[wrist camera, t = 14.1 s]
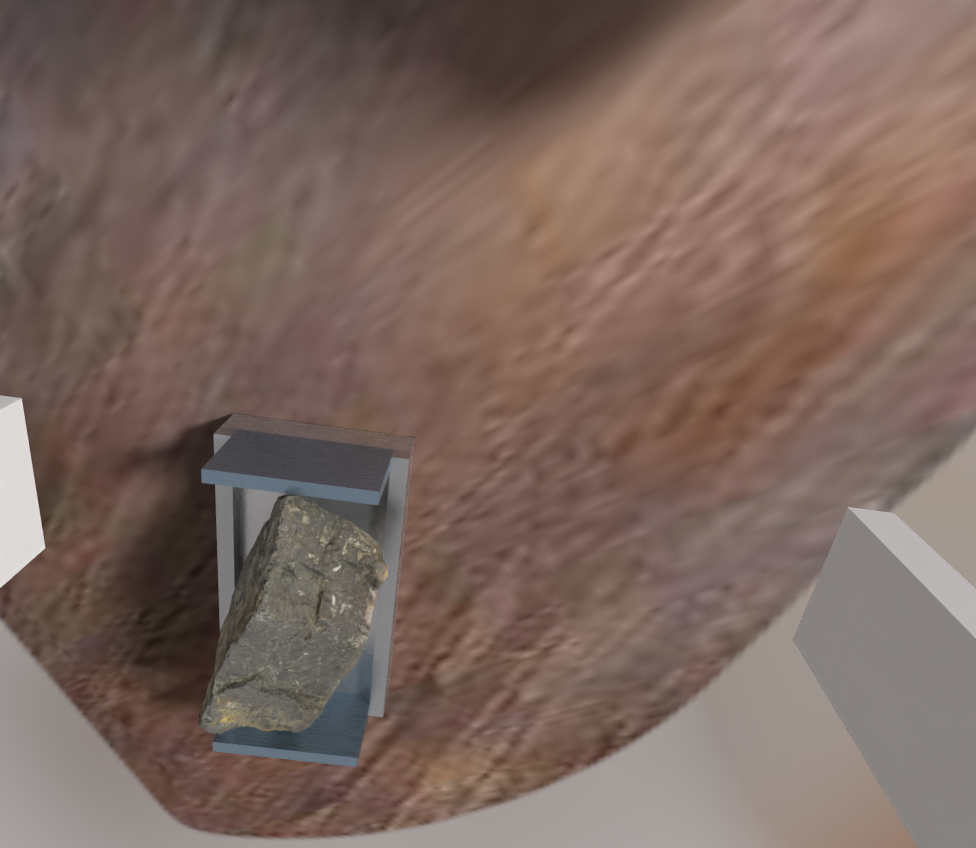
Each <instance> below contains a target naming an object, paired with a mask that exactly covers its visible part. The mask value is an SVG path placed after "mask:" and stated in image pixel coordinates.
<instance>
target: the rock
mask: <svg viewBox="0 0 976 848" xmlns="http://www.w3.org/2000/svg"><path fill="white" fill-rule="evenodd" d="M387 575H388V567H387V564H386V563H385V561H384V557H383V552H382V549H381V546H380V544H379V543H378V542H377V541H375V540H374V539H373V538H372V537H371V536H370V535H369V534H368V533H366V532H365V531H363V530H362V529H361V528H359V527H357V526H356V525H354V524H353V523H352V522H350V521H348V520H345V519H342V517H341V516H339V515H336V514H333V513H331V512H328V511H326V510H324V509H323V508H321V507H319V506H318V505H317V504H316V503H315V502H313V501H310V500H307V499H305V498H302V497H300V496H298V495H293V494H288V495H282V496H279V497H278V498H277V501H276V502H275V504H274V506H273V509H272V513H271V516H270V519H269V520H267V521H266V522H265V524H264V525H263V527H262V529H261V531H260V534H259V535H258V536H257V539H256V541H255V543H254V545H253V547H252V548H251V550H250V552H249V554H248V556H247V558H246V560H245V562H244V564H243V567H242V570H241V573H240V577H239V580H238V582H237V585H236V587H235V590H234V592H233V595H232V599H231V605H230V609H229V613H228V615H227V617H226V618H225V620H224V622H223V625H222V628H221V630H220V636H219V639H218V645H217V648H216V653H215V657H216V661H215V667H214V673H213V676H212V678H211V680H210V682H209V683H208V687H207V692H206V696H205V699H204V701H203V704H202V707H201V710H200V714H199V725H200V726H201V727H202V729H204V730H205V731H206V732H208V733H213V734H215V733H218V734H222V733H224V732H226V731H228V730H231V729H234V728H237V727H245V726H248V727H255V728H257V729H259V730H262V731H264V732H266V731H271V730H277V731H282V730H283V731H292V732H293V733H297V732H300V731H303V730H305V729H307V728H308V727H310V726H311V725H312V723H313V722H314V721H315V720H316V719H317V718H318V717H319V716H320V715H321V713H322V712H323V708H324V706H325V704H326V703H327V701H328V700H329V698H330V697H331V696H332V694H333V693H334V691H335V689H336V688H337V687H338V686H339V685H340V681H341V680H342V679H343V678H344V677H345V675H346V674H347V673H349V672H350V671H351V670H352V669H353V667H354V666H355V664H356V663H357V661H358V660H359V659H360V657H361V656H362V653H363V650H364V648H365V645H366V642H367V639H368V634H369V631H370V629H371V619H372V612H373V609H374V607H375V599H376V595H377V590H378V589H379V588H380V587H381V586H382V585H383V583H384V581H385V579H386V577H387Z"/></svg>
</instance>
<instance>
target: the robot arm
mask: <svg viewBox="0 0 976 848" xmlns="http://www.w3.org/2000/svg"><path fill="white" fill-rule="evenodd" d="M44 549H45V543H44V537H43V531H42V524H41V518H40V512H39V505H38V499H37V493H36V486H35V480H34V474H33V467H32V461H31V455H30V448H29V442H28V436H27V429H26V423H25V417H24V410H23V404H22V398H15V397H7V396H0V588H1V587H2V586H3V585H4V584H5V583H6V582H7V581H8V580H10V579H11V578H12V577H13V576H14V575H15V574H16V573H18V572H19V571H20V570H21V569H22V568H23V567H24V566H25V565H27V564H28V563H29V562H30V561H31V560H32V559H33V558H35V557H36V556H37V555H38V554H39V553H40V552H41V551H42V550H44ZM793 641H794V642H795V644H796V646H797V647H798V649H799V651H800V652H801V654H802V656H803V657H804V659H805V661H806V662H807V664H808V665H809V667H810V669H811V671H812V672H813V674H814V676H815V677H816V679H817V681H818V682H819V684H820V686H821V687H822V689H823V691H824V692H825V694H826V696H827V697H828V699H829V701H830V702H831V704H832V706H833V707H834V709H835V711H836V712H837V714H838V716H839V717H840V719H841V721H842V722H843V724H844V726H845V727H846V729H847V731H848V732H849V734H850V736H851V737H852V739H853V740H854V742H855V744H856V746H857V747H858V749H859V751H860V752H861V754H862V756H863V757H864V759H865V761H866V762H867V764H868V766H869V767H870V769H871V771H872V773H873V774H874V776H875V777H876V779H877V781H878V782H879V784H880V786H881V788H882V789H883V791H884V793H885V794H886V796H887V798H888V799H889V801H890V803H891V804H892V806H893V808H894V809H895V811H896V812H897V814H898V816H899V818H900V819H901V821H902V823H903V824H904V826H905V827H906V829H907V831H908V833H909V834H910V836H911V838H912V839H913V841H914V842H915V844H916V846H917V847H918V848H976V589H975V588H974V587H973V586H972V585H971V584H970V583H969V582H967V581H966V580H965V579H964V578H963V577H962V576H961V575H960V574H959V573H958V572H957V571H956V570H955V569H953V568H952V567H951V566H950V565H949V564H948V563H947V562H946V561H945V560H944V559H943V558H942V557H940V556H939V555H938V554H937V553H936V552H935V551H934V550H933V549H932V548H931V547H930V546H929V545H927V544H926V543H925V542H924V541H923V540H922V539H921V538H920V537H919V536H918V535H917V534H916V533H914V532H913V531H912V530H911V529H910V528H909V527H908V526H907V525H906V524H905V523H904V522H903V521H901V520H900V519H899V518H898V517H897V516H896V515H895V514H894V513H889V512H881V511H874V510H866V509H858V508H851V507H848V508H847V511H846V513H845V516H844V518H843V520H842V523H841V525H840V528H839V530H838V532H837V535H836V537H835V540H834V542H833V544H832V547H831V549H830V552H829V554H828V556H827V559H826V561H825V564H824V566H823V568H822V571H821V573H820V576H819V578H818V580H817V583H816V585H815V588H814V590H813V592H812V595H811V597H810V600H809V602H808V605H807V607H806V609H805V612H804V614H803V617H802V619H801V621H800V624H799V626H798V629H797V631H796V633H795V636H794V639H793Z"/></svg>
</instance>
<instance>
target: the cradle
mask: <svg viewBox="0 0 976 848" xmlns="http://www.w3.org/2000/svg"><path fill="white" fill-rule="evenodd" d="M414 445H415V437H407V436H400V435H392V434H385V433H377V432H370V431H362V430H355V429H347V428H339V427H332V426H324V425H317V424H309V423H302V422H294V421H287V420H279V419H271V418H264V417H256V416H249V415H241V414H233V415H232V416H231V417H230V418H229V419H228V420H227V421H226V422H225V423H224V424H223V425H222V426H221V427H220V428H219V429H218V430H217V431H216V432H215V433H214V456H213V457H212V458H211V459H210V460H209V461H208V462H207V463H206V464H205V465H204V466H203V467H202V469H201V475H202V483H208V484H215V496H216V526H217V557H218V588H219V619H220V630H221V628H222V625H223V622H224V620H225V618H226V617H227V615H228V613H229V609H230V605H231V599H232V595H233V592H234V590H235V587H236V585H237V582H238V580H239V577H240V573H241V570H242V567H243V564H244V562H245V560H246V558H247V556H248V554H249V552H250V550H251V548H252V547H253V545H254V543H255V541H256V539H257V536H258V535H259V534H260V531H261V529H262V527H263V525H264V524H265V522H266V521H267V520H269V519H270V516H271V513H272V509H273V506H274V504H275V502H276V501H277V498H278V497H279V496H282V495H288V494H293V495H298V496H300V497H302V498H305V499H307V500H310V501H313V502H315V503H316V504H317V505H318V506H319V507H321V508H323V509H324V510H326V511H328V512H331V513H333V514H336V515H339V516H341V517H342V519H345V520H348V521H350V522H352V523H353V524H354V525H356V526H357V527H359V528H361V529H362V530H363V531H365V532H366V533H368V534H369V535H370V536H371V537H372V538H373V539H374V540H375V541H377V542H378V543H379V544H380V546H381V549H382V552H383V557H384V561H385V563H386V564H387V567H388V575H387V577H386V579H385V581H384V583H383V585H382V586H381V587H380V588H379V589H378V590H377V595H376V599H375V607H374V609H373V612H372V619H371V629H370V631H369V634H368V639H367V642H366V645H365V648H364V650H363V653H362V656H361V657H360V659H359V660H358V661H357V663H356V664H355V666H354V667H353V669H352V670H351V671H350V672H349V673H347V674H346V675H345V677H344V678H343V679H342V680H341V681H340V685H339V686H338V687H337V688H336V689H335V691H334V693H333V694H332V696H331V697H330V698H329V700H328V701H327V703H326V704H325V706H324V708H323V712H322V713H321V715H320V716H319V717H318V718H317V719H316V720H315V721H314V722H313V723H312V725H311V726H310V727H308V728H307V729H305V730H303V731H300V732H297V733H293V732H292V731H283V730H282V731H277V730H271V731H266V732H264V731H262V730H259V729H257V728H255V727H248V726H245V727H237V728H234V729H231V730H228V731H226V732H224V733H222V734H218V733H217V734H216V736H215V738H214V740H213V751H218V752H227V753H236V754H245V755H254V756H263V757H272V758H281V759H290V760H299V761H308V762H317V763H326V764H335V765H344V766H353V767H357V763H358V759H359V755H360V750H361V746H362V742H363V737H364V733H365V728H366V724H367V720H368V716H376V717H383V714H384V709H385V705H386V700H387V695H388V690H389V685H390V676H391V666H392V657H393V647H394V638H395V628H396V618H397V609H398V599H399V589H400V580H401V570H402V561H403V551H404V541H405V532H406V522H407V512H408V503H409V493H410V484H411V474H412V464H413V455H414Z"/></svg>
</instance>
